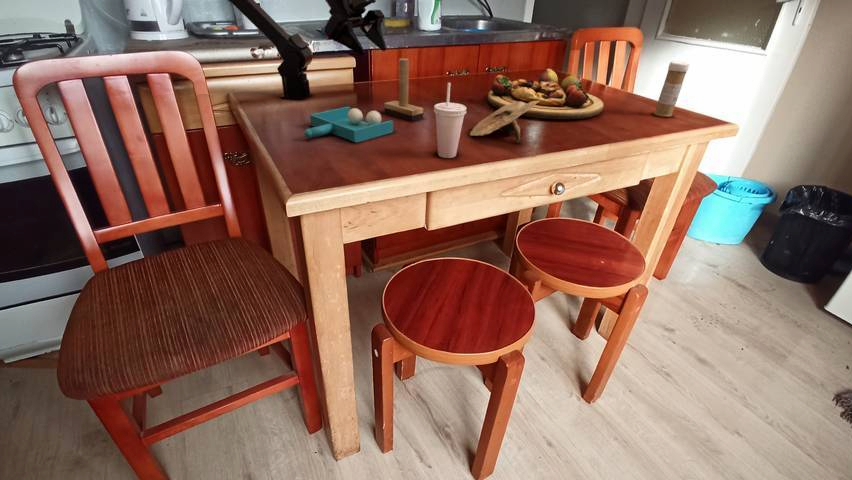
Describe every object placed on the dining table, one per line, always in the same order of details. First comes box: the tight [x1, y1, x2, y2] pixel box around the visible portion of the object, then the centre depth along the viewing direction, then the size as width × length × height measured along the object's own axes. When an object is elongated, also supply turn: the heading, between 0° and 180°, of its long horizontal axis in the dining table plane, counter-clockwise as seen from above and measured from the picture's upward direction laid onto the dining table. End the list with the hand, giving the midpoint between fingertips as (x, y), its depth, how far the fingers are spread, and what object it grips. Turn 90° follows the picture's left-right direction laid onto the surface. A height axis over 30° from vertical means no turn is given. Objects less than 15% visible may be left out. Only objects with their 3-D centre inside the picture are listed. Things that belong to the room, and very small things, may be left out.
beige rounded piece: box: [347, 107, 364, 124], centre depth 107 cm, size 4×4×4 cm
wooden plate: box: [486, 68, 605, 120], centre depth 126 cm, size 32×32×8 cm
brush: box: [383, 57, 424, 122], centre depth 112 cm, size 4×10×13 cm, turn 47°
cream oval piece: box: [365, 110, 382, 126], centre depth 106 cm, size 4×4×4 cm
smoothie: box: [433, 82, 467, 159], centre depth 89 cm, size 6×6×14 cm
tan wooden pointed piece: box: [469, 101, 539, 144], centre depth 102 cm, size 18×14×8 cm
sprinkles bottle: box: [653, 60, 690, 118], centre depth 119 cm, size 5×5×14 cm
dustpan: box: [304, 106, 394, 143], centre depth 102 cm, size 18×16×3 cm
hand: (374, 52), depth 114 cm, fingers open, 9 cm apart
